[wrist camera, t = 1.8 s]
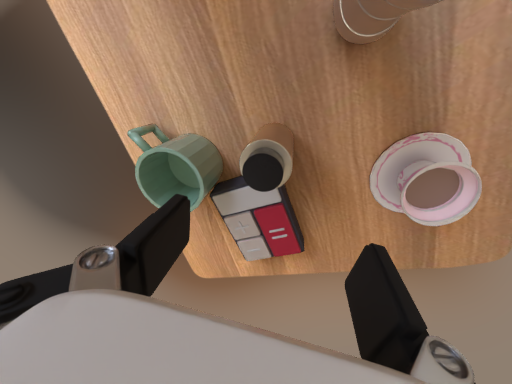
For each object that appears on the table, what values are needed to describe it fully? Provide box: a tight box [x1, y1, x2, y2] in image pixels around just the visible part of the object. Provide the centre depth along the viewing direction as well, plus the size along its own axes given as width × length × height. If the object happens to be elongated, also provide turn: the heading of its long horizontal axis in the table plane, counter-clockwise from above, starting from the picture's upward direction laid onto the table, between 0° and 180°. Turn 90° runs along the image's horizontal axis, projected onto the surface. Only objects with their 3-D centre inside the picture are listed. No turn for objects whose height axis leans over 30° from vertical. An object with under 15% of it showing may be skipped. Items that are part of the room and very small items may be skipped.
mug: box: [128, 123, 223, 212], centre depth 30 cm, size 13×10×8 cm
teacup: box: [370, 132, 482, 227], centre depth 27 cm, size 12×12×6 cm
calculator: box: [210, 176, 304, 261], centre depth 35 cm, size 11×4×15 cm
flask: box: [239, 122, 294, 192], centre depth 25 cm, size 6×6×12 cm
